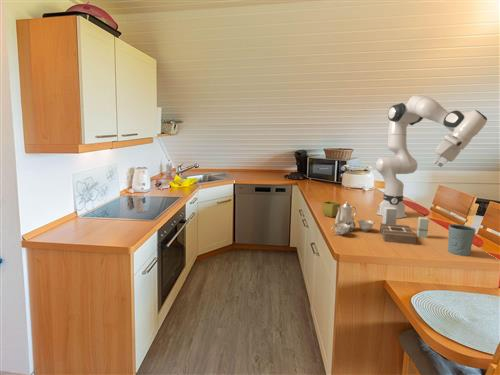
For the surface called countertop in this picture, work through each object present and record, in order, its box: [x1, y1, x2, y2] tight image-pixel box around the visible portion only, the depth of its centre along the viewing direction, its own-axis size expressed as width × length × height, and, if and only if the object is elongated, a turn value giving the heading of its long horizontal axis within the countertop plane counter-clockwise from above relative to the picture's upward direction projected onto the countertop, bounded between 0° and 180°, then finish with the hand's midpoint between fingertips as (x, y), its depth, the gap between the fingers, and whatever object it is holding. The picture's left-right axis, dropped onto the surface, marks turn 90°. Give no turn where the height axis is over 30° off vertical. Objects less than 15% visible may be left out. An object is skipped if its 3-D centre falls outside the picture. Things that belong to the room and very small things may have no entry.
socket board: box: [379, 222, 417, 245], centre depth 164 cm, size 20×14×4 cm
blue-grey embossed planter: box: [447, 223, 476, 257], centre depth 142 cm, size 10×10×12 cm
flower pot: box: [321, 200, 341, 218], centre depth 204 cm, size 9×9×9 cm
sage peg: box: [416, 216, 430, 239], centre depth 165 cm, size 4×4×10 cm
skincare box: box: [381, 207, 397, 225], centre depth 178 cm, size 6×4×12 cm
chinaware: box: [330, 201, 375, 236], centre depth 172 cm, size 28×17×17 cm, turn 122°
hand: (436, 164), depth 159 cm, fingers open, 8 cm apart
